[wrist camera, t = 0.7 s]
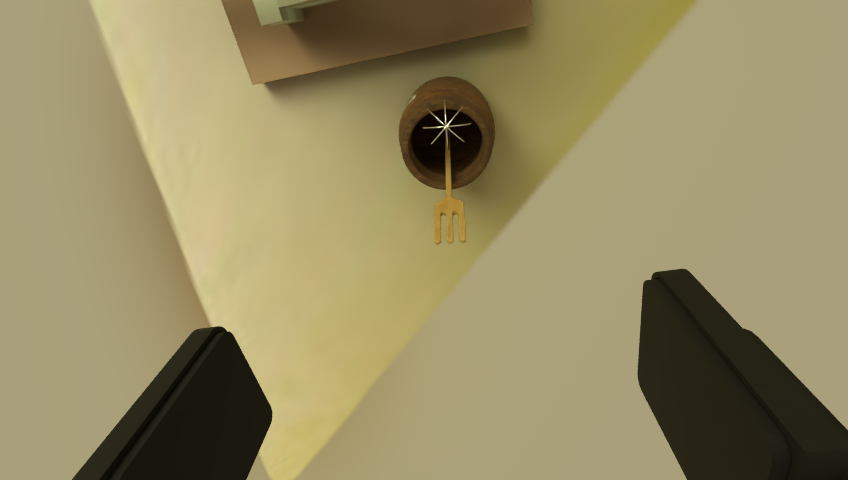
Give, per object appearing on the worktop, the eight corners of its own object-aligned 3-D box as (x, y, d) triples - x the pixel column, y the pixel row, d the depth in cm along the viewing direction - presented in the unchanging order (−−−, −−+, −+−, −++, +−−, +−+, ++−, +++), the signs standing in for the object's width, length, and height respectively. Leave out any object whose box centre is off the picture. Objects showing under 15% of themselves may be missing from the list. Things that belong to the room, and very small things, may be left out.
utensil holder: (488, 69, 27) (513, 103, 17) (490, 162, 30) (512, 240, 20) (399, 78, 28) (369, 116, 17) (410, 167, 31) (390, 247, 20)
